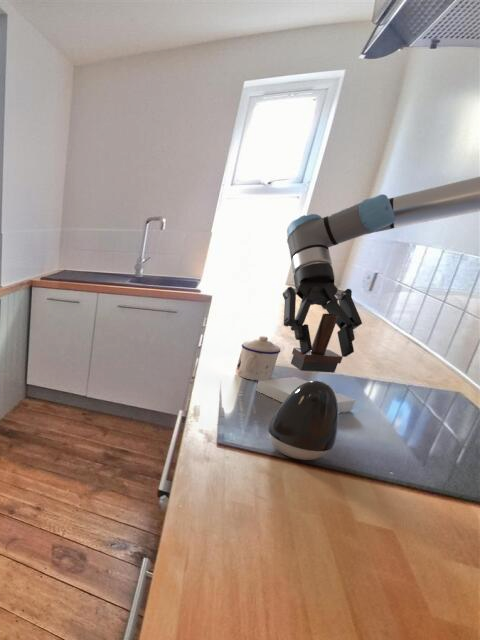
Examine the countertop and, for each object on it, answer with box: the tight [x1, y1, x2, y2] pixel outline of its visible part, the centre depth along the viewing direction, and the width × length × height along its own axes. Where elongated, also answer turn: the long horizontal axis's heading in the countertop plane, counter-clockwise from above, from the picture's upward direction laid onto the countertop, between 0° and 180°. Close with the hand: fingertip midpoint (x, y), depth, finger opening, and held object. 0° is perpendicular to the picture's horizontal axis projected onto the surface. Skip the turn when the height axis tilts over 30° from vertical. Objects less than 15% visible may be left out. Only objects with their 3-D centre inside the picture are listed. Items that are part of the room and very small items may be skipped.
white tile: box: [255, 376, 356, 413], centre depth 103 cm, size 15×12×3 cm
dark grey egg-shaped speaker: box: [267, 380, 339, 461], centre depth 78 cm, size 10×10×15 cm
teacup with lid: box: [235, 335, 281, 382], centre depth 115 cm, size 12×9×12 cm
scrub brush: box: [290, 313, 344, 374], centre depth 97 cm, size 8×6×13 cm
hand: (327, 352), depth 95 cm, fingers closed on scrub brush, 8 cm apart
